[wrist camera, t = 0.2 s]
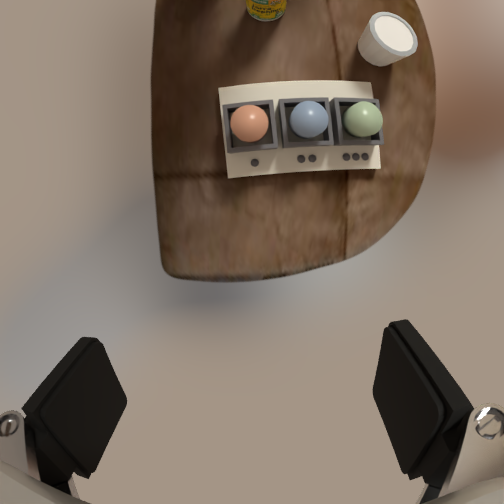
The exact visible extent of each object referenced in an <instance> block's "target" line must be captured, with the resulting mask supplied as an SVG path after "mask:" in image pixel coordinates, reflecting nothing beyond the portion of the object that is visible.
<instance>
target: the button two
mask: <svg viewBox="0 0 504 504" xmlns="http://www.w3.org/2000/svg"><path fill="white" fill-rule="evenodd" d="M327 125H328V114H327V112H326V110H325V109H324V107H323V106H321V105H320V104H319V103H316V102H314V101H304V102H301V103H299V104H298V105H297V106H296V107H295V108H294V110H293V111H292V113H291V115H290V117H289V127H290V129H291V131H292V132H293V133H294V134H295V135H296V136H298V137H300V138H303V139H310V138H313V137H315V136H317V135H319V134H321V133H322V132H323V131H324V130H325V129H326V128H327Z"/></svg>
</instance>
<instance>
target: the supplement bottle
mask: <svg viewBox="0 0 504 504" xmlns="http://www.w3.org/2000/svg"><path fill="white" fill-rule="evenodd" d="M246 5H247V11H248V13H249V14H250V15H251V16H252V17H253V18H255V19H257V20H260V21H273V20H276V19H278V18H279V17H281V16H282V15H283V14H284V12H285V8H286V0H246Z"/></svg>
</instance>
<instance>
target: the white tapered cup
mask: <svg viewBox="0 0 504 504" xmlns="http://www.w3.org/2000/svg"><path fill="white" fill-rule="evenodd" d="M417 46H418V43H417V37H416V35H415V33H414V31H413V29H412V27H411V26H410V25H409V24H408V23H407V22H406V21H405V20H403V19H402V18H400V17H399V16H397V15H395V14H392V13H389V12H378V13H376V14H375V15H373V16H372V17H371V19H370V21H369V23H368V25H367V26H366V28H365V30H364V32H363V33H362V35H361V37H360V39H359V41H358V50H359V52H360V54H361V56H362V57H363V58H364V59H365V60H366V61H367V62H369V63H371V64H372V65H376V66H387V65H389V64H391V63H393V62H396V61H398V60H400V59H403V58H405V57H407V56H410V55H411V54H413V53H414V52H415V51H416V48H417Z"/></svg>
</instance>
